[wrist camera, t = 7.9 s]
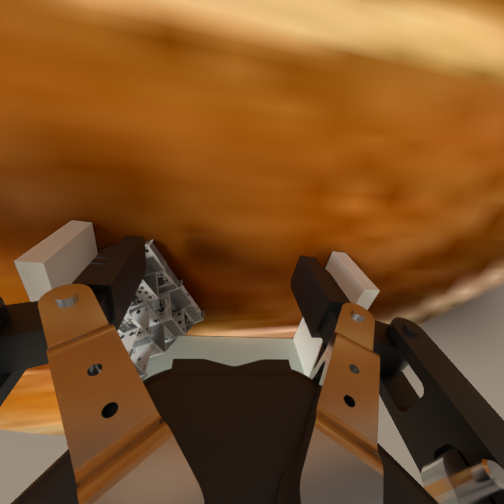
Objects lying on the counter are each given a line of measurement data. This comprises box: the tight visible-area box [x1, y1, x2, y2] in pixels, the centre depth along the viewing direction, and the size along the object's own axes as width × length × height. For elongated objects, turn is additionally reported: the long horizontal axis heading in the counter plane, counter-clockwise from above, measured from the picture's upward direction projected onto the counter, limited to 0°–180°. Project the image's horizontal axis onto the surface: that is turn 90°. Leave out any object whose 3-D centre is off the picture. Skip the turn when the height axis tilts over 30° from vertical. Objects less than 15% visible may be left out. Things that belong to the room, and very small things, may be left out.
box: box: [14, 220, 380, 381], centre depth 15 cm, size 10×17×4 cm, turn 78°
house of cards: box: [117, 239, 205, 381], centre depth 12 cm, size 9×9×8 cm
